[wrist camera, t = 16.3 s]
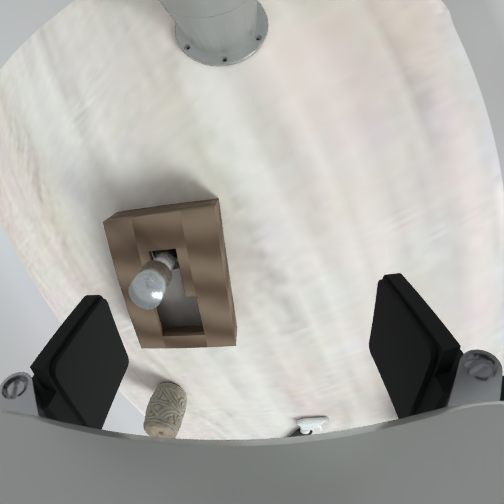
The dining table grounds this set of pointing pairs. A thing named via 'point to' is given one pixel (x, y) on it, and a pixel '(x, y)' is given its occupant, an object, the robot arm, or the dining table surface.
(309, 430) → the spray bottle
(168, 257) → the keyhole peg
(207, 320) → the keyhole board
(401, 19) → the dining table surface
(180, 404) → the carving
